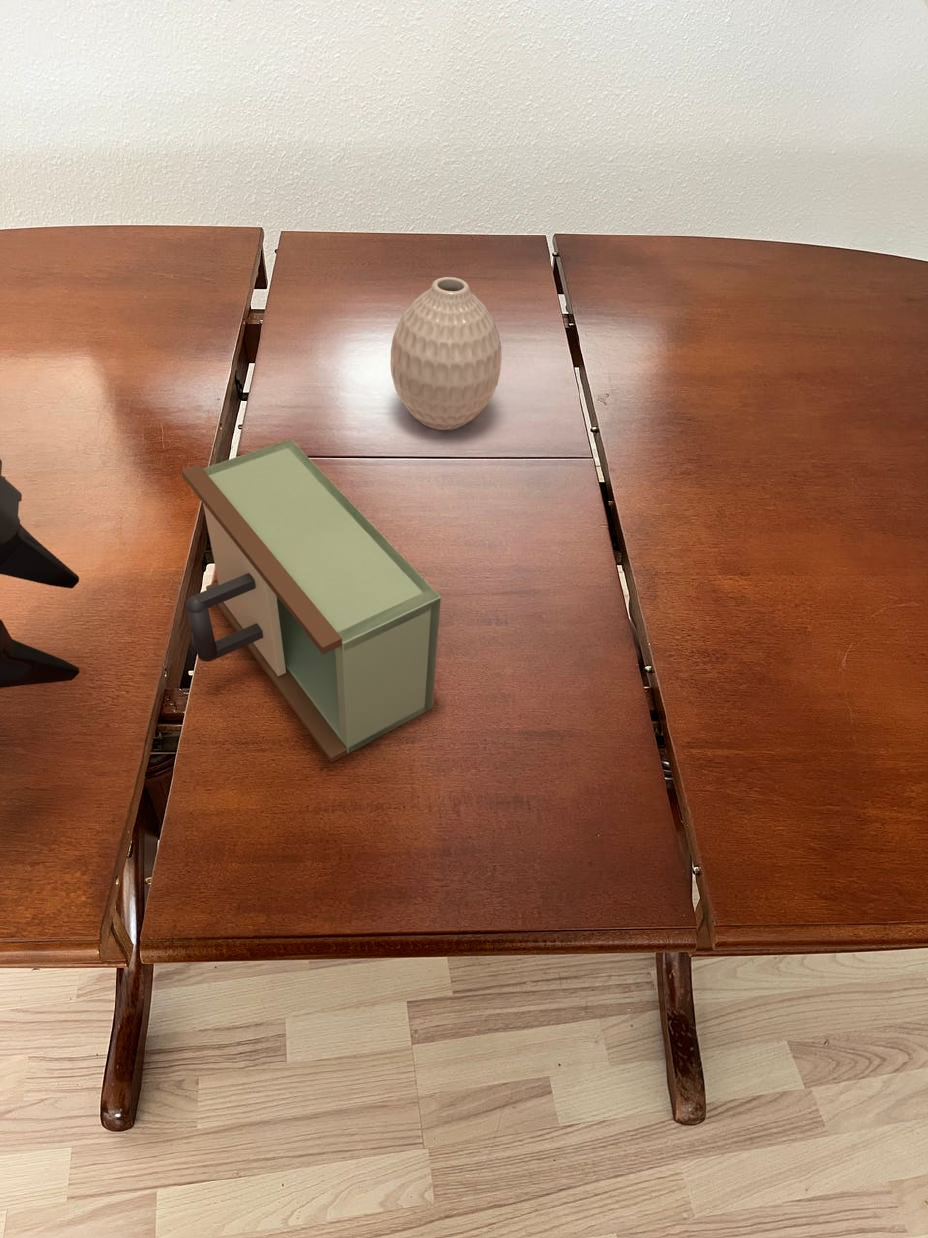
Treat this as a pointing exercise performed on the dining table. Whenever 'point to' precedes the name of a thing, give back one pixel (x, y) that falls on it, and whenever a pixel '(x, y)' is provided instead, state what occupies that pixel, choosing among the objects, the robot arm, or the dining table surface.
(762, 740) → the dining table surface
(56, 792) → the dining table surface
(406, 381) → the vase
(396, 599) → the cabinet
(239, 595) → the door
